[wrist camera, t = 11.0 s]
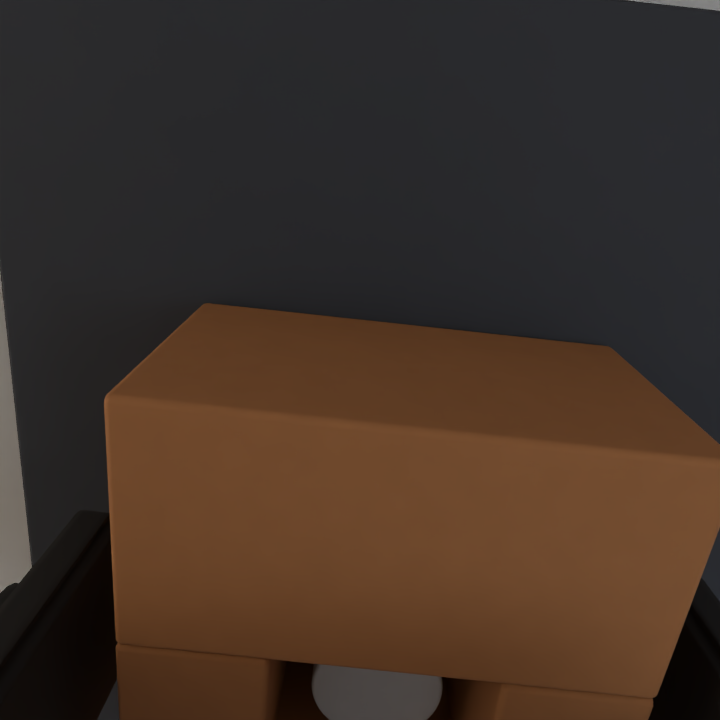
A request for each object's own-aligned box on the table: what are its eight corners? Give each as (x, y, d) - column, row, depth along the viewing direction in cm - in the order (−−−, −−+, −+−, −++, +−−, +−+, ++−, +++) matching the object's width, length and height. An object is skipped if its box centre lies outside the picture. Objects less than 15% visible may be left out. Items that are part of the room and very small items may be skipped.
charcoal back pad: (37, -36, 10) (-253, -186, 6) (844, 54, 10) (1231, -17, 6) (95, 773, 17) (-11, 1011, 12) (579, 822, 17) (653, 1076, 13)
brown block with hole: (203, 301, 10) (99, 395, 6) (612, 344, 10) (747, 463, 6) (197, 725, 14) (128, 948, 10) (503, 756, 14) (550, 990, 10)
